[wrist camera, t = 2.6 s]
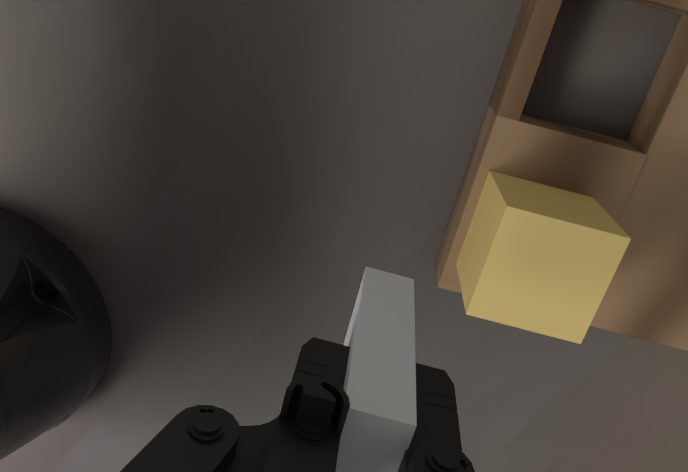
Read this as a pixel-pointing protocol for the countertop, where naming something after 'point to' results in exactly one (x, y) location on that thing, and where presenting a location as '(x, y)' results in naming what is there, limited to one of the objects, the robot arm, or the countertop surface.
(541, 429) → the countertop surface
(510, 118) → the trap deck
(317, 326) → the countertop surface
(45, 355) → the robot arm
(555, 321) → the cube
